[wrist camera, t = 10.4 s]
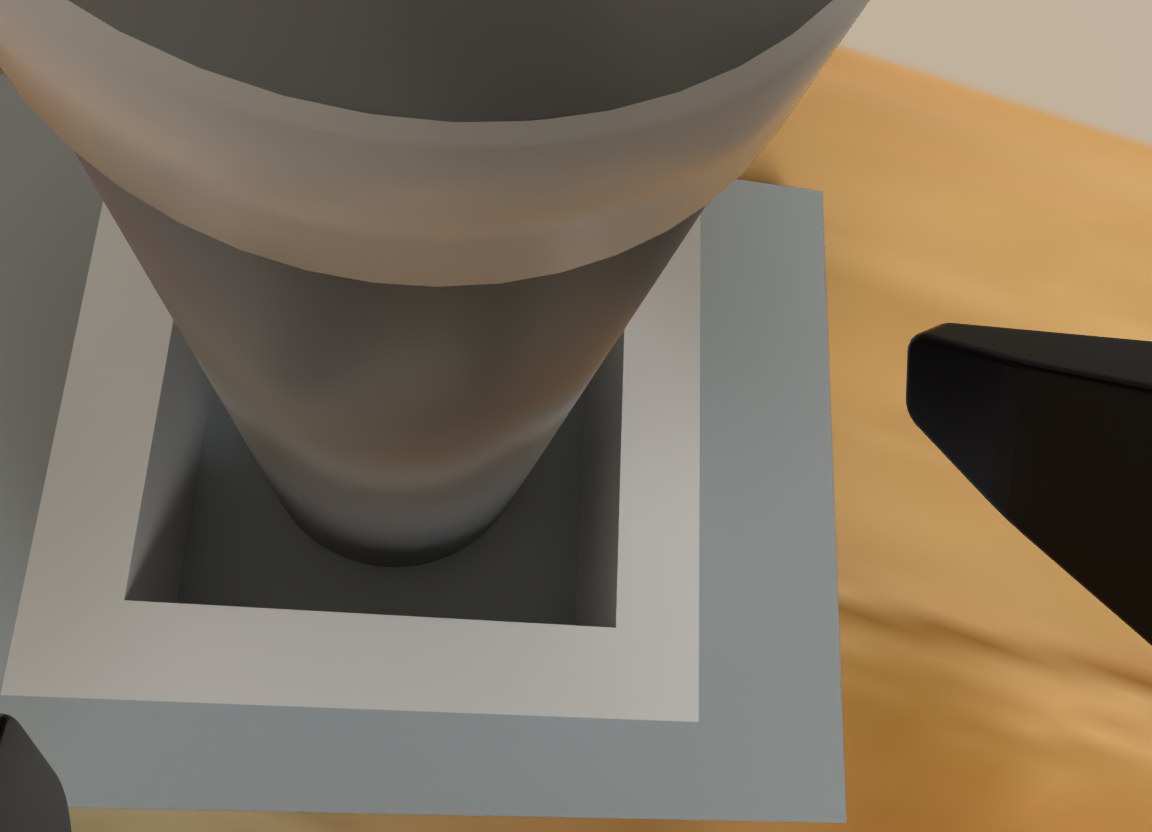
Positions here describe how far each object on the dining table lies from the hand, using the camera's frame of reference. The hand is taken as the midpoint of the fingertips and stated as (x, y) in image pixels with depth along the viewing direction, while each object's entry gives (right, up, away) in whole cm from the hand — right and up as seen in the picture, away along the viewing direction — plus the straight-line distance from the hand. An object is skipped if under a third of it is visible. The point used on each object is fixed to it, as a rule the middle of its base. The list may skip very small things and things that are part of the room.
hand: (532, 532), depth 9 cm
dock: (-3, 0, +8) cm, 9 cm away
